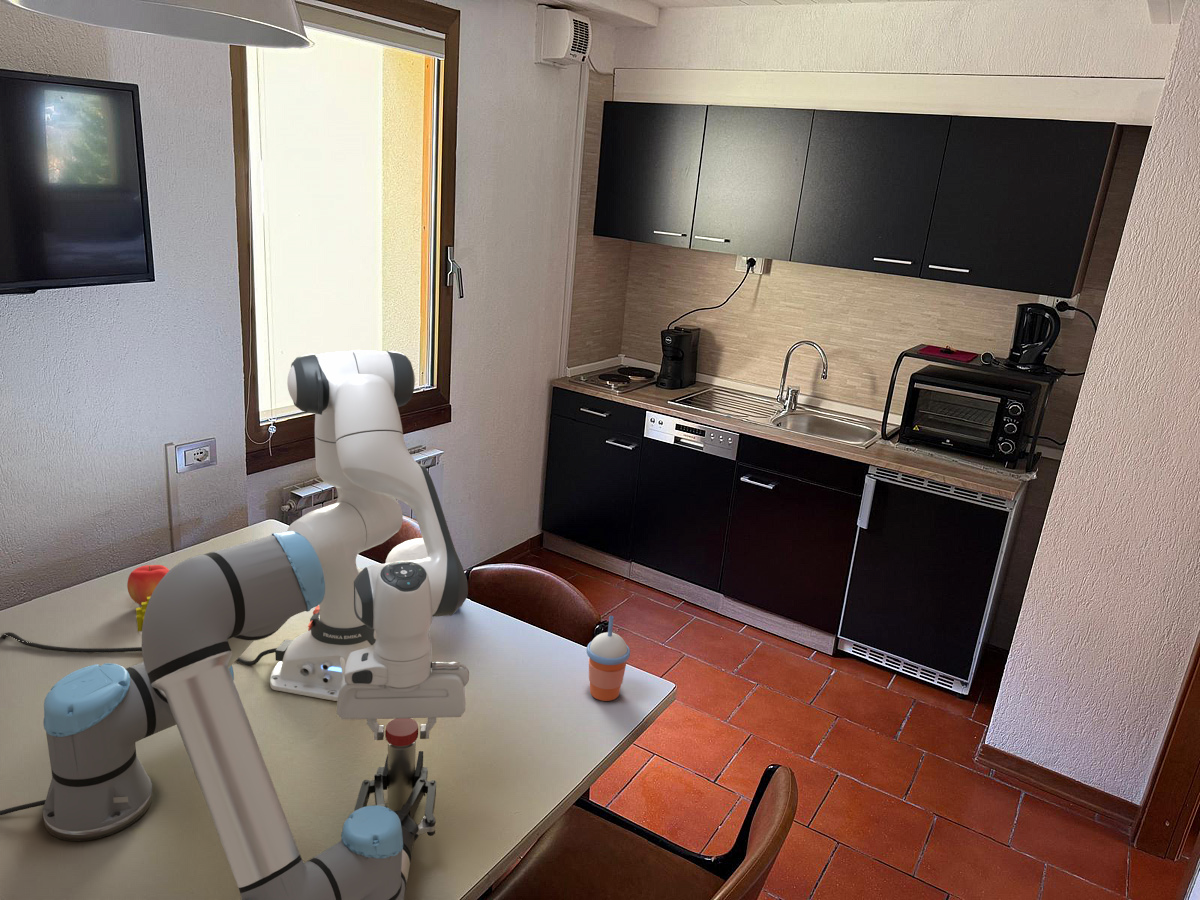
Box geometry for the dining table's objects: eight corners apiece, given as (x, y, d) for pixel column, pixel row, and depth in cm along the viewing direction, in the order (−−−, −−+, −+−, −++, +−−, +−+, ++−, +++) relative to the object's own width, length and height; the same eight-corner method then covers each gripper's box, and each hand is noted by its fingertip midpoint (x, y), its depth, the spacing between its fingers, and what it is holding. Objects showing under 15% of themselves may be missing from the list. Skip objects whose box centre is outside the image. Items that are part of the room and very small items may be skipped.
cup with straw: (621, 709, 175) (629, 631, 170) (578, 700, 177) (585, 623, 172) (629, 685, 184) (636, 610, 179) (588, 677, 185) (594, 603, 180)
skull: (448, 622, 203) (451, 561, 199) (372, 599, 211) (374, 540, 207) (477, 602, 215) (480, 543, 211) (405, 581, 223) (406, 524, 219)
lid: (385, 728, 141) (385, 718, 140) (417, 725, 142) (417, 715, 141) (385, 747, 136) (385, 737, 135) (418, 745, 137) (419, 735, 137)
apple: (178, 610, 199) (175, 571, 196) (132, 618, 194) (128, 578, 191) (171, 592, 207) (168, 555, 204) (127, 600, 202) (123, 562, 199)
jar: (389, 800, 145) (389, 723, 141) (415, 800, 146) (417, 723, 141) (385, 818, 141) (386, 740, 136) (413, 818, 141) (414, 740, 137)
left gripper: (323, 881, 125) (353, 775, 147) (444, 881, 126) (456, 776, 149) (322, 839, 122) (353, 738, 145) (445, 839, 124) (458, 739, 146)
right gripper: (469, 651, 140) (466, 724, 144) (339, 653, 136) (340, 727, 140) (469, 673, 134) (466, 747, 138) (334, 675, 130) (335, 751, 134)
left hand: (405, 757), depth 146 cm, fingers closed on jar, 4 cm apart
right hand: (402, 737), depth 139 cm, fingers open, 6 cm apart
